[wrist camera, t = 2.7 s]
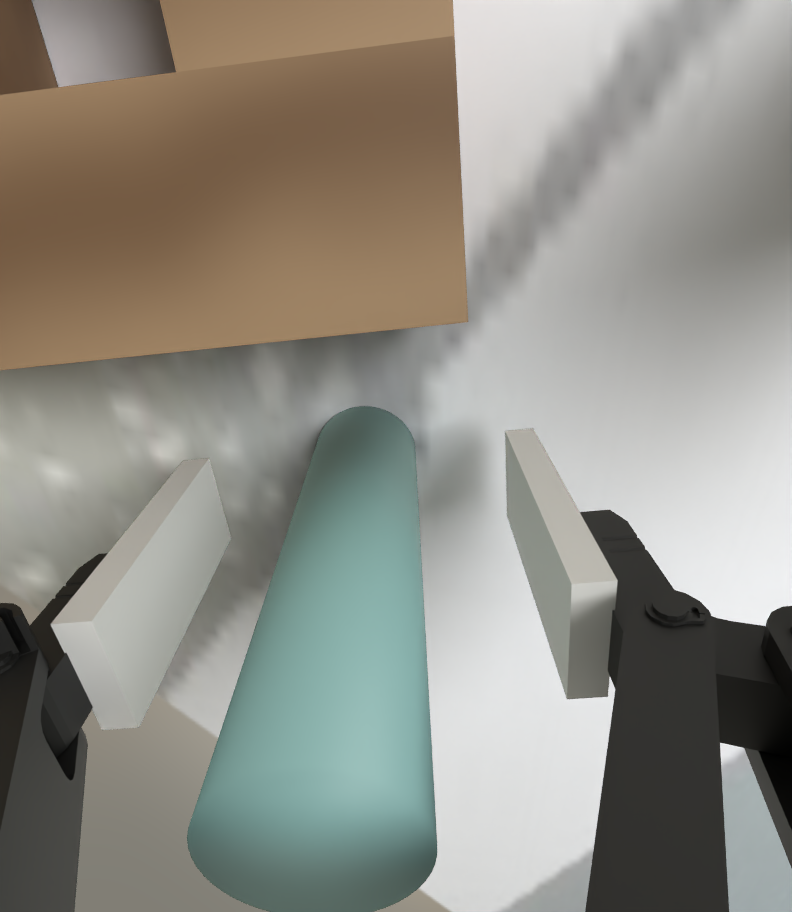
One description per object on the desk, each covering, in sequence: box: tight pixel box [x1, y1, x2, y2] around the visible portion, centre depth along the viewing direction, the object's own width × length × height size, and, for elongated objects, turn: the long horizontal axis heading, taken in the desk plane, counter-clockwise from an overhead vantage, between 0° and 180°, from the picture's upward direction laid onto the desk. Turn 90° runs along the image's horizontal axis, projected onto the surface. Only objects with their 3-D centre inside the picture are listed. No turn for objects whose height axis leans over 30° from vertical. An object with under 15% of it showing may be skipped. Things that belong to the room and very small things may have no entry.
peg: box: [187, 406, 437, 912], centre depth 13 cm, size 3×3×12 cm
